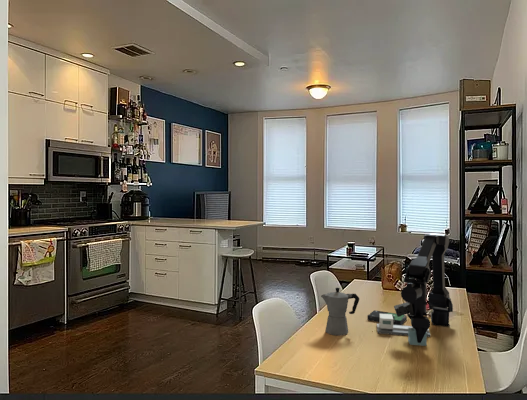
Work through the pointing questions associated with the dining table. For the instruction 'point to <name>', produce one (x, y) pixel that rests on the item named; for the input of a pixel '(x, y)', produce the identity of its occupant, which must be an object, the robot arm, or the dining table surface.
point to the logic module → (413, 338)
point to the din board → (396, 332)
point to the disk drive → (396, 320)
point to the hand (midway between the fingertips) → (417, 338)
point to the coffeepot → (338, 311)
